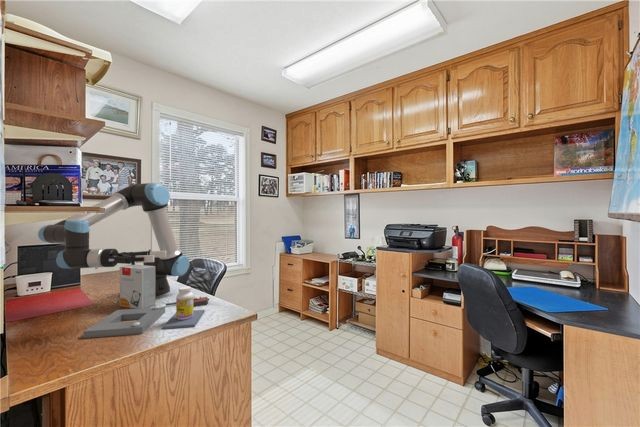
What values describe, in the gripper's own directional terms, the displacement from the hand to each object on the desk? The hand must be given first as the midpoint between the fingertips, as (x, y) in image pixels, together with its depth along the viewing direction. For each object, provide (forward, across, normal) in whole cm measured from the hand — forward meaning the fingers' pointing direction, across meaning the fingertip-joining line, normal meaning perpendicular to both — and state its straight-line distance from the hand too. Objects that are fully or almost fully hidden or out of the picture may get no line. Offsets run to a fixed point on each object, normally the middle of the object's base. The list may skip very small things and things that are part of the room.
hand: (160, 256), depth 120 cm
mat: (+10, 0, -28) cm, 29 cm away
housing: (-12, 0, -28) cm, 30 cm away
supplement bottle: (+10, 0, -27) cm, 29 cm away
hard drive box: (-19, -25, -28) cm, 42 cm away
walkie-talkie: (+6, -21, -28) cm, 36 cm away
